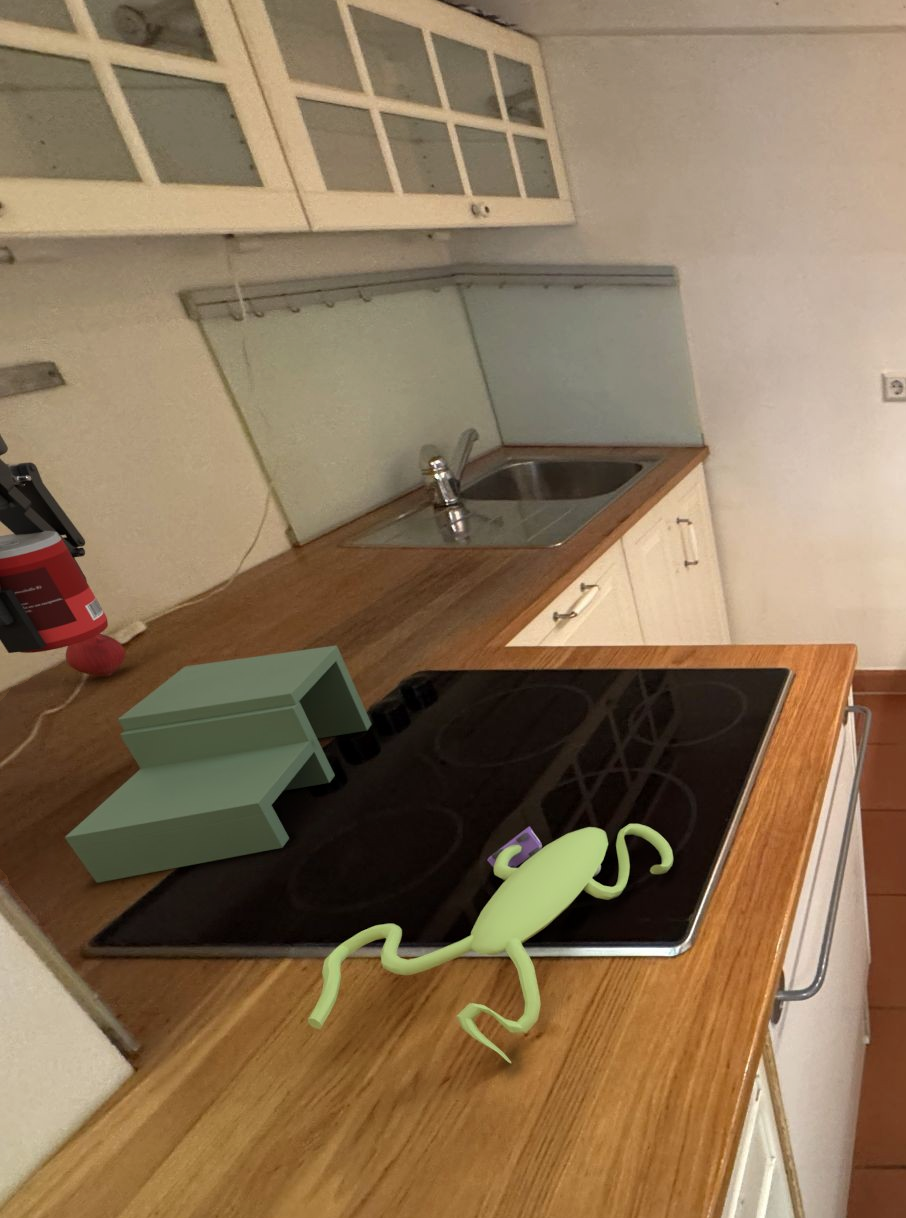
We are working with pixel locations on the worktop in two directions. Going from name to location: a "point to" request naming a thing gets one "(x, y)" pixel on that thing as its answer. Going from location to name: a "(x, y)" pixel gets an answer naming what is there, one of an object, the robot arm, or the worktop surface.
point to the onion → (96, 655)
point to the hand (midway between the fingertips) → (58, 631)
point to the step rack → (219, 761)
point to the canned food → (50, 589)
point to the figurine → (509, 915)
